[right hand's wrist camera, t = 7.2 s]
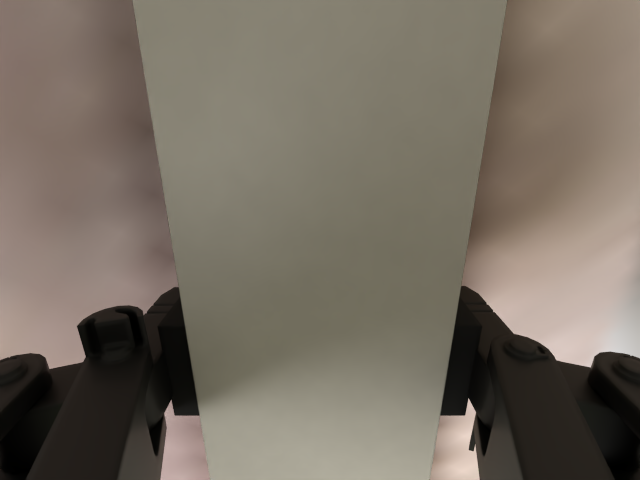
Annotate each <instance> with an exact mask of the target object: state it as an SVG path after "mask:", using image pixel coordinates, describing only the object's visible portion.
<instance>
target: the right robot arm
mask: <svg viewBox="0 0 640 480" xmlns="http://www.w3.org/2000/svg"><path fill="white" fill-rule="evenodd" d="M77 328H78V331H79V335H80V338H81V341H82V345H83V348H84V352H85V355H86V358H85V360H84V362H82V363H78V364H73V365H68V366H63V367H58V368H53V369H49V367H48V364H47V361H46V358H45V357H43V356H42V355H40V354H32V353H29V354H22V355H15V356H11V357H10V358H9V357H8V358H5V359H2V360H0V480H160V477H161V469H162V461H163V453H164V445H165V437H166V429H167V427H166V421H165V416H164V412H165V410H166V408H167V407H168V405H169V403H170V401H171V399H172V404H173V409H174V414H175V415H199V409H198V402H197V396H196V390H195V384H194V378H193V372H192V365H191V359H190V353H189V347H188V341H187V335H186V328H185V322H184V316H183V310H182V304H181V298H180V291H179V287H174V288H172V289H171V290H169V291H167V292H166V293H164V294H162V295H161V296H160V297H159V298H158V300H157V301H156V302H155V303H154V306H151V308H150V309H149V310H148V311H147V313H145V314H144V316H143V311H142V310H141V309H139V308H138V307H134V306H116V307H111V308H107V309H104V310H101V311H98V312H96V313H93V314H92V315H90V316H88V317H87V318H85V319H83V320H82V321H81V322H80V323H79V325H78V326H77ZM468 398H469V399H470V401H471V403H472V405H473V407H474V409H475V411H476V416H475V421H474V425H473V430H472V435H471V440H470V445H469V450H471V451H474V447H475V444H476V452H477V460H478V468H479V476H480V480H640V358H637V357H634V356H630V355H628V354H623V353H615V352H602V353H599V354H597V355H596V356H595V357H594V360H593V363H592V366H591V368H590V367H585V366H580V365H575V364H570V363H565V362H560V361H557V360H556V359H555V357H554V356H553V354H552V353H551V352H550V351H549V349H547V348H546V347H545V346H543V345H542V344H540V343H539V342H537V341H534V340H532V339H530V338H528V337H524V336H520V335H516V334H513V332H512V331H511V330H510V329H509V328H508V327H507V326H506V325H505V323H504V322H503V321H502V320H501V319H500V318H499V317H498V315H497V314H496V313H495V312H493V310H492V309H491V308H490V306H489V305H486V302H485V301H484V300H483V298H482V297H481V296H480V295H479V294H478V293H476V292H475V291H473V290H471V289H469V288H468V287H466V286H461V289H460V296H459V302H458V308H457V314H456V320H455V326H454V333H453V339H452V345H451V351H450V357H449V364H448V370H447V376H446V382H445V388H444V394H443V401H442V407H441V413H440V415H465V413H466V408H467V403H468Z"/></svg>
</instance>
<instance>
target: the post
mask: <svg viewBox="0 0 640 480" xmlns="http://www.w3.org/2000/svg"><path fill="white" fill-rule="evenodd" d="M132 2H133V8H134V14H135V20H136V27H137V33H138V39H139V45H140V51H141V57H142V63H143V70H144V76H145V82H146V88H147V94H148V100H149V107H150V113H151V119H152V125H153V131H154V137H155V144H156V150H157V156H158V162H159V168H160V174H161V181H162V187H163V193H164V199H165V205H166V211H167V218H168V224H169V230H170V236H171V242H172V248H173V254H174V261H175V267H176V273H177V279H178V285H179V291H180V298H181V304H182V310H183V316H184V322H185V328H186V335H187V341H188V347H189V353H190V359H191V365H192V372H193V378H194V384H195V390H196V396H197V402H198V409H199V415H200V421H201V427H202V433H203V439H204V445H205V452H206V458H207V464H208V470H209V476H210V480H430V475H431V469H432V462H433V456H434V450H435V444H436V438H437V431H438V425H439V419H440V413H441V407H442V401H443V394H444V388H445V382H446V376H447V370H448V364H449V357H450V351H451V345H452V339H453V333H454V326H455V320H456V314H457V308H458V302H459V296H460V289H461V283H462V277H463V271H464V265H465V258H466V252H467V246H468V240H469V234H470V228H471V221H472V215H473V209H474V203H475V197H476V191H477V184H478V178H479V172H480V166H481V160H482V153H483V147H484V141H485V135H486V129H487V123H488V116H489V110H490V104H491V98H492V92H493V86H494V79H495V73H496V67H497V61H498V55H499V48H500V42H501V36H502V30H503V24H504V18H505V11H506V5H507V0H132Z"/></svg>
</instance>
